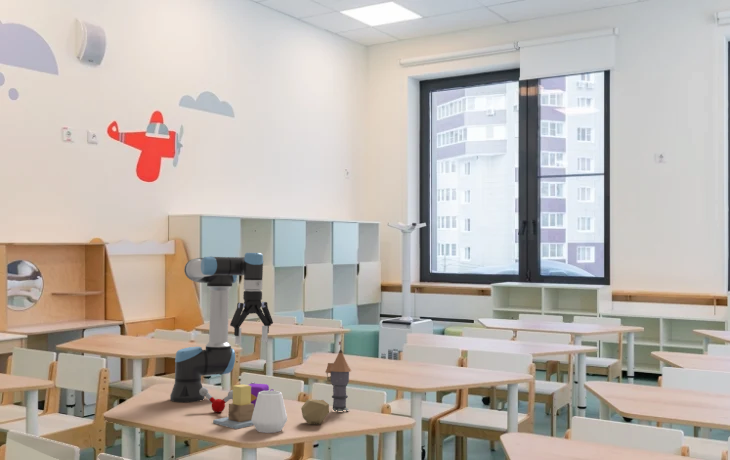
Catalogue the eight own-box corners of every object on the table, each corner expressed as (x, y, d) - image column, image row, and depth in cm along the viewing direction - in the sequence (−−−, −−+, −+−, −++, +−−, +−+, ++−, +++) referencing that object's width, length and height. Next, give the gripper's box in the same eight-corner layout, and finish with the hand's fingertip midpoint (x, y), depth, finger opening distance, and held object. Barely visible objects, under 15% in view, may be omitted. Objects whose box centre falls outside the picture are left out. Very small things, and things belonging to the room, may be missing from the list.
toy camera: (272, 409, 302) (273, 386, 302) (241, 409, 302) (241, 385, 302) (276, 404, 312) (277, 382, 313) (245, 404, 313) (246, 381, 313)
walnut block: (228, 419, 275) (228, 403, 276) (242, 416, 281) (242, 401, 281) (239, 422, 271) (239, 406, 271) (253, 419, 276) (254, 403, 276)
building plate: (213, 422, 275) (213, 419, 275) (245, 416, 286) (245, 413, 287) (235, 428, 265) (235, 425, 265) (268, 422, 277) (268, 418, 277)
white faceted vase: (288, 433, 259) (289, 395, 260) (252, 434, 257) (253, 396, 257) (285, 425, 272) (286, 389, 273) (250, 426, 270) (251, 389, 270)
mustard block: (232, 403, 276) (233, 385, 276) (242, 402, 280) (243, 384, 280) (240, 405, 273) (240, 387, 273) (250, 403, 276) (251, 385, 277)
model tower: (331, 407, 308) (333, 338, 309) (354, 409, 303) (355, 339, 305) (321, 411, 299) (323, 340, 301) (345, 414, 295) (346, 341, 296)
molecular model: (196, 411, 295) (197, 387, 295) (204, 409, 300) (204, 385, 300) (232, 415, 288) (233, 391, 289) (240, 413, 293) (240, 388, 294)
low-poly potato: (310, 429, 268) (336, 414, 270) (296, 403, 270) (323, 388, 273) (309, 431, 282) (334, 417, 284) (296, 407, 284) (321, 393, 287)
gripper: (233, 291, 275) (232, 346, 274) (282, 290, 293) (280, 341, 293) (222, 290, 280) (220, 344, 279) (270, 289, 299) (269, 339, 298)
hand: (251, 343), depth 286 cm, fingers open, 13 cm apart
